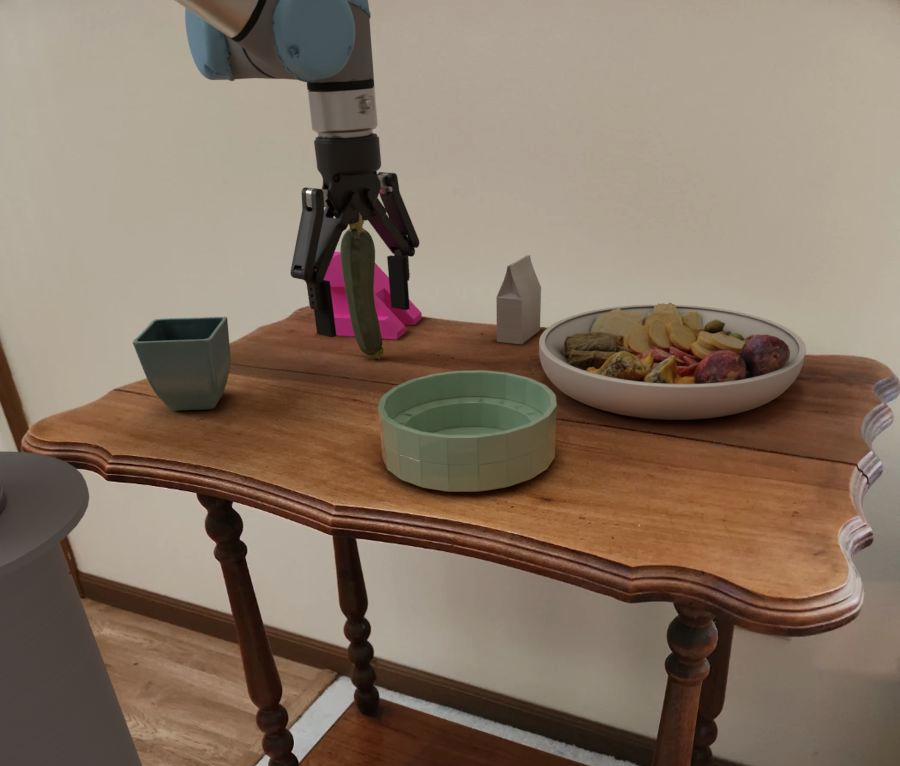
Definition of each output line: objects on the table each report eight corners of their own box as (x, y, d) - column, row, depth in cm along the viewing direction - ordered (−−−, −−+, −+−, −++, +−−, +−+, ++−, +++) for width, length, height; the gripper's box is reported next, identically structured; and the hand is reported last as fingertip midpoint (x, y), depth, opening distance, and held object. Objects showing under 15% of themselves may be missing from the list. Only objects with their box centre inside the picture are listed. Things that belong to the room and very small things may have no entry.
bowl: (487, 388, 97) (486, 322, 93) (630, 328, 114) (635, 270, 110) (710, 457, 80) (723, 379, 75) (841, 374, 97) (858, 306, 92)
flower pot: (226, 416, 93) (210, 338, 88) (151, 419, 93) (130, 341, 88) (242, 389, 101) (228, 315, 95) (172, 391, 101) (154, 318, 96)
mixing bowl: (348, 466, 81) (341, 409, 78) (456, 412, 92) (455, 359, 88) (483, 515, 72) (482, 453, 68) (587, 448, 82) (590, 392, 79)
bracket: (320, 334, 118) (310, 259, 112) (349, 314, 126) (341, 243, 120) (397, 339, 114) (391, 262, 108) (421, 318, 122) (417, 245, 116)
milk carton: (540, 330, 115) (541, 255, 110) (521, 344, 110) (522, 267, 105) (516, 327, 117) (516, 254, 111) (496, 341, 112) (496, 265, 106)
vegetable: (362, 367, 105) (344, 198, 94) (345, 359, 108) (326, 194, 97) (390, 359, 107) (377, 193, 96) (373, 351, 110) (358, 189, 99)
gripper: (284, 148, 83) (313, 352, 95) (440, 122, 98) (448, 301, 111) (238, 145, 87) (272, 341, 99) (395, 121, 102) (408, 294, 115)
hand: (365, 321), depth 105 cm, fingers open, 13 cm apart
